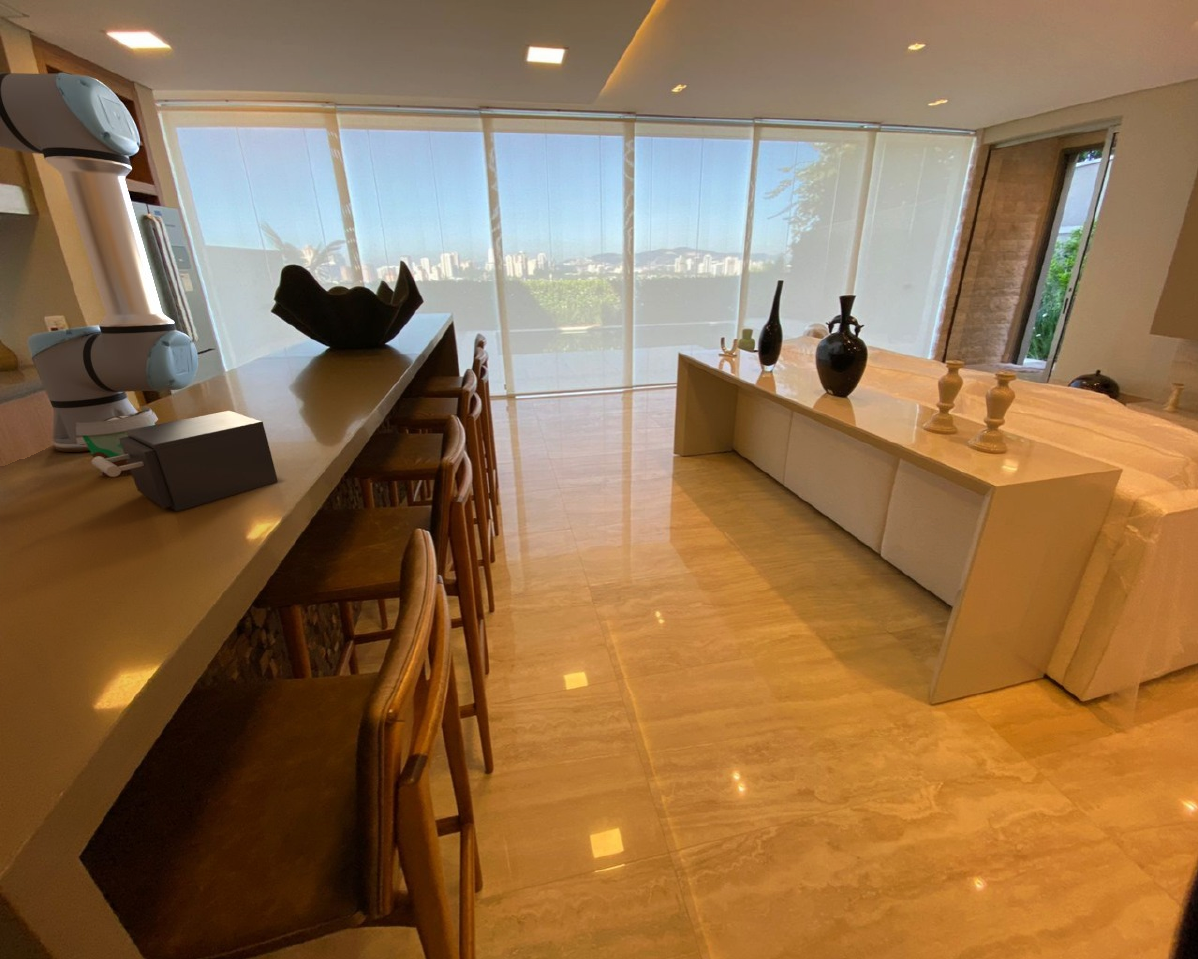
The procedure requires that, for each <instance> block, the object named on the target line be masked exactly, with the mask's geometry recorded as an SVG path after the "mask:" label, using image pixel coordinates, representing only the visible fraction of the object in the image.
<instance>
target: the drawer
mask: <svg viewBox="0 0 1198 959" xmlns="http://www.w3.org/2000/svg"><path fill="white" fill-rule="evenodd" d="M119 441H120V443H121V446H122V449H123V451H124V454H125V455H120V456H115V457H111V458H106V459H105V458H103V457H100V456H98V457H95V458H94V457H92V459H91V464H92V466H93V467H95V468H97V469H98V470H101V471H103V472H104V473H106V474H107V475H109V476H108V477H112V478H114V477H115V478H116V477H119V476H118V475H119V474H120V473H121V471H124V470H128V469H130V471H131V473H132V474H131V476H132V479H133V481H134V485H135V488H136V490H137V492H138V493H140V494H142V495H143V496H145V497H146V498H147V499H149V500H151V501H153V502H154V503H156V504H157V505H158V506H160V507H161V508H163V509H166V508H170V506H173V503H172V500H171V497H170V494H169V491H168V488H167V485H166V482H165V479H164V476H163V474H162V471H161V468H160V465H159V462H158V459H157V456H156V453H155V450H154V449H153V448H151V447H149V446H147V445H146V444H144V443H143V444H142V443H140V442H138V441H136V440H134V439H132V438H130V437H124V438H119ZM124 459H126V460H127V462H128V465H123V466H119V467H118V466H116V465H115V464H113V463H111V462H115V461H119V460H124ZM101 471H100V472H101Z"/></svg>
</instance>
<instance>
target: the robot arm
mask: <svg viewBox="0 0 1198 959" xmlns="http://www.w3.org/2000/svg"><path fill="white" fill-rule="evenodd" d="M140 146H141V139H140V134H139V130H138V128H137V125H136V123H135V121H134V118H133V117H132V115H131V113H130V111H129V110H128V109H127V107H126V105H125V104H124V102H122V101H121V100H120V99H119V97H118V96H117V95H116V93H115V92H113V91H112V90H111V88H110V87H108V86H107V85H105V84H104V83H103V82H102V81H100V80H98V79H96V78H94V77H91V76H89V75H82V74H70V73H66V72H58V73H27V72H26V73H23V72H21V73H20V72H19V73H18V72H17V73H16V72H12V73H11V72H0V148H5V149H9V150H12V151H13V150H14V151H18V152H23V153H30V154H35V155H42V156H43V158H44V161H45V163H47V164H48V165H49V166H51V167H52V168H53V169H55V170H56V171H57V172H58V173H60V175H61V178H62V181H63V184H64V187H65V191H66V194H67V197H68V201H69V203H70V207H71V209H72V212H73V213H72V214H73V215H74V218H75V222H76V225H77V228H78V232H79V234H80V235H79V236H80V238H81V241H82V245H83V247H84V250H85V254H86V257H87V259H88V260H87V261H88V262H89V265H90V270H91V272H92V275H93V278H94V281H95V285H96V288H97V291H98V294H99V297H100V301H101V303H102V307H103V309H104V313H105V315H104V317H103V319H102V320H101V321H100V322H99V323H98V324H97V325H88V326H81V327H73V328H66V329H58V330H51V331H45V332H39V333H34V334H32V335H29V337H28V338H27V341H26V342H27V343H26V344H27V347H28V350H29V353H30V359H31V361H32V363H33V364H34V367H35V369H36V372H37V375H38V377H39V379H40V381H41V383H42V384H41V385H42V386H43V388H44V390H45V391H44V392H46V396H47V398H48V400H49V402H50V405H51V407H52V410H53V424H52V442H53V446H54V447H55V449H56V450H57V451H59V452H63V453H82V452H90V450H89V448H88V446H87V444H86V442H85V440H84V439H83V437H82V435H77V433H76V427H77V425H76V423H90V422H101V421H103V420H106V419H108V418H111V417H115V416H124V415H130V414H135V413H138V412H139V411H138V410H137V409H136V408H135V407H134V406H133V404H132V403H131V402H130V400H129V398H128V396H127V392H128V393H129V392H159V393H163V392H166V391H179V390H182V389H184V388H186V387H188V386H189V385H190V384H191V383H192V382H193V381H194V379H195V377H196V375H197V372H198V367H199V354H198V351H197V347H196V345H195V343H194V341H193V340H192V339H191V337H190V336H189V335H187V334H186V333H185V332H181V331H179V330H177V326H176V323H175V321H174V320H173V319H171V318H170V317H168V316H167V315H165V314H164V313H163V311H162V307H161V304H160V300H159V297H158V292H157V290H156V286H155V282H154V278H153V275H152V272H151V269H150V264H149V261H148V258H147V253H146V251H145V247H144V243H143V239H142V237H141V233H140V229H139V225H138V223H137V219H136V215H135V212H134V208H133V205H132V200H131V197H130V193H129V191H128V186H127V183H126V177H127V176H128V175H129V174H130V172H132V170H133V168H132V164H131V160H130V157H131V156H134V155H135V154H137V153H138V152H139V150H140Z"/></svg>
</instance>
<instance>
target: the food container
mask: <svg viewBox="0 0 1198 959" xmlns="http://www.w3.org/2000/svg"><path fill="white" fill-rule="evenodd" d="M141 409H142V410H141V411H137V412H138V413H135V414H130V415H124V416H115V417H111V418H108V419H106V420H103V421H101V422H90V423H76V425H77V427H76V433H77V435H82V437H83V439H84V440H85V442H86V444H87V446H88V448H89V450H90V451H89V452H90V454H91V456H92V458H95V457H98V456H100V457H103V458H105V459H106V458H111V457H115V456H120V455H125V454H124V451H123V449H122V446H121V443H120V441H119V438H124V437H128V436H127V434H126V430H130V429H136V428H141V427H146V426H152V425H156V424H155V423H156V422H157V421H159V418H158V417H157V415H156V413H155V411H154V410H152V408H150V407H149V406H141ZM111 463H113V464H115V465H116V466H118V467H119V466H123V465H128V462H127V460H126V459H124V460H119V461H115V462H111ZM99 470H100V469H99ZM100 473H101V474H102V476H103V477H110V476H109V475H107V474H106V473H104V472H103V471H101V470H100ZM126 475H132V473H131V471H130V469H128V470H124V471H121V473H120V474H119V475H118V476H117V477H119V476H120V477H121V476H126Z"/></svg>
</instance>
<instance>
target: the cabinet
mask: <svg viewBox="0 0 1198 959" xmlns="http://www.w3.org/2000/svg"><path fill="white" fill-rule="evenodd" d="M126 434H127V436H128V437H130V438H132V439H134V440H136V441H138V442H140V443H142V444H143V443H144V444H146V445H147V446H149V447H151V448H153V449H154V450H155V453H156V456H157V459H158V462H159V465H160V468H161V471H162V474H163V476H164V479H165V482H166V485H167V488H168V491H169V494H170V497H171V500H172V503H173V506H170V507H169V508H171V509H172V510H173V511H175V512H177V513H178V512H181V511H185V510H187V509H192V508H194V507H198V506H201V505H204V504H208V503H211V502H214V501H217V500H221V499H225V498H228V497H231V496H233V495H238V494H241V493H244V492H248V491H251V490H255V489H258V488H262V487H264V486H265V487H266V486H267V485H271V484H275V483H277V482H279V480H278V475H277V472H276V468H275V463H274V461H273V456H272V452H271V448H270V445H269V441H268V437H267V432H266V429H265V425H264V422H263V421H262V420H259V419H256V418H254V417H250V416H247V415H245V414H244V415H243V414H241V413H237V412H234V411H231V410H226V411H221V412H216V413H215V412H214V413H210V414H204V415H200V416H194V417H190V418H183V419H179V420H174V421H168V422H163V423H158V424H155V425H152V426H146V427H141V428H136V429H130V430H126Z"/></svg>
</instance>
